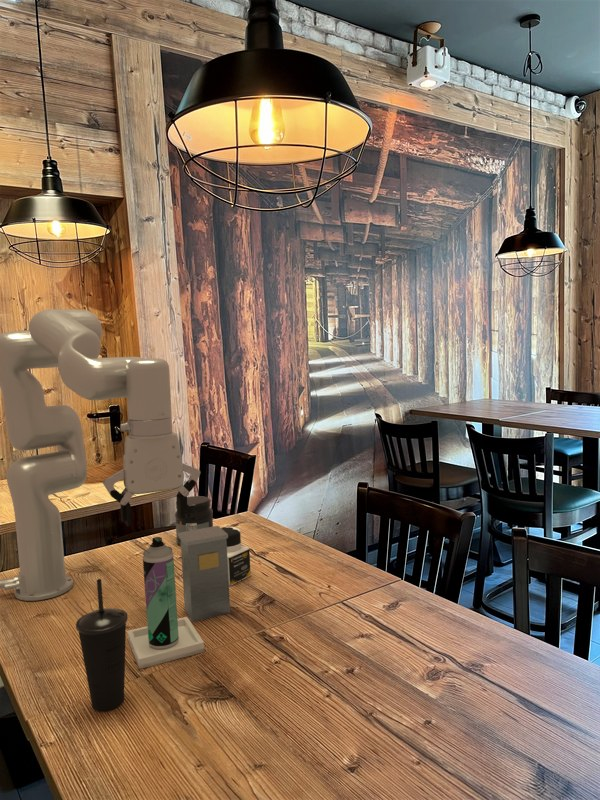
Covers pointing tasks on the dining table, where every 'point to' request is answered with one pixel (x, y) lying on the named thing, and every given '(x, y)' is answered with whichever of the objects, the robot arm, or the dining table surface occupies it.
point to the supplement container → (194, 515)
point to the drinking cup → (104, 654)
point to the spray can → (160, 595)
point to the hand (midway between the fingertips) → (155, 520)
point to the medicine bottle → (236, 556)
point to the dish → (149, 657)
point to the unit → (205, 573)
